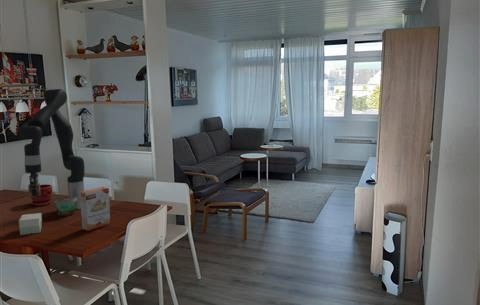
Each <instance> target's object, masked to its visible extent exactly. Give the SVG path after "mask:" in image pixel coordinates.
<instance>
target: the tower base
mask: <svg viewBox="0 0 480 305" xmlns="http://www.w3.org/2000/svg"><path fill="white" fill-rule="evenodd" d="M42 228H43V226H42V222H41V223H40V225H39V226H32V227H23V228H19V235H20V236H22V235H23V236H24V235H30V234H31V233H32V234H37V233H41V231H42V230H41V229H42Z"/></svg>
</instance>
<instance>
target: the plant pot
mask: <svg viewBox="0 0 480 305" xmlns="http://www.w3.org/2000/svg"><path fill="white" fill-rule="evenodd" d="M40 193H41V194H40V196H37V197H30V199H31V200H32V202H31V204H32V205H33V206H39V207H40V206H46V205H49V204H50V203H52V201H53V200H52V199H51V198H52V196H53V185H52V184H48V183H47V184H40Z"/></svg>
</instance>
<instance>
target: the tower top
mask: <svg viewBox="0 0 480 305" xmlns="http://www.w3.org/2000/svg"><path fill="white" fill-rule="evenodd" d="M42 218H43V217H42V213H41V212H37V213H28V214H22V215H21V216H20V218H19V220H18V228H19V229H20V228H23V227H32V226H39V225H40V223H41V224H42V221H43V219H42Z"/></svg>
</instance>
